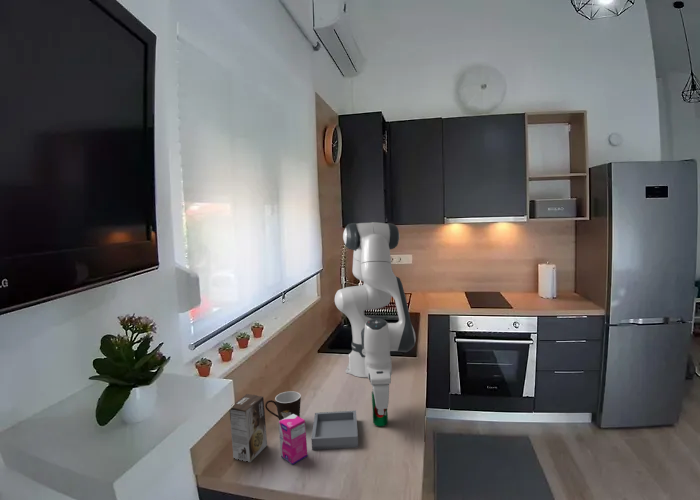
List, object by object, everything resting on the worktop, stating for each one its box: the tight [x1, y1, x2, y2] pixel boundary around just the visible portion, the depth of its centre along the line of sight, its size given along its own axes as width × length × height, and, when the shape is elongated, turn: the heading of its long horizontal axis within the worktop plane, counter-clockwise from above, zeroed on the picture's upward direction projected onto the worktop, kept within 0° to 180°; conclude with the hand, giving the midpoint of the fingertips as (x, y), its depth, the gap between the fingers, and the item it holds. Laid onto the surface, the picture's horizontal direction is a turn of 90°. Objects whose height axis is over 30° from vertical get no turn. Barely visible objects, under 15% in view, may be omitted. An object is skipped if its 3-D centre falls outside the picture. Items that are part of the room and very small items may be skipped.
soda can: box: [371, 390, 389, 428], centre depth 134 cm, size 5×5×12 cm
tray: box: [311, 410, 359, 451], centre depth 129 cm, size 16×14×4 cm
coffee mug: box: [264, 390, 302, 422], centre depth 136 cm, size 12×9×10 cm
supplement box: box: [278, 414, 309, 465], centre depth 117 cm, size 6×6×12 cm
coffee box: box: [229, 393, 268, 463], centre depth 121 cm, size 9×6×16 cm
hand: (379, 408), depth 134 cm, fingers closed on soda can, 5 cm apart
